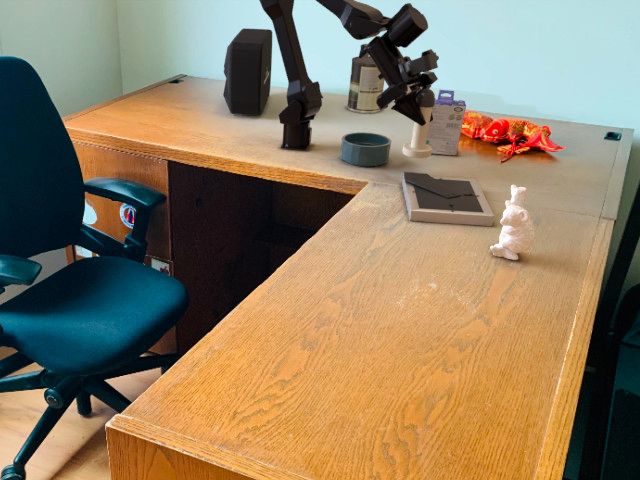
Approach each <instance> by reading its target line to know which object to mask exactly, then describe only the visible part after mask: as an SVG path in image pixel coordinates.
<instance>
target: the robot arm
mask: <svg viewBox="0 0 640 480" xmlns="http://www.w3.org/2000/svg"><path fill="white" fill-rule="evenodd" d="M258 1H259V3H260V5H261V7H262V10H263V12H265V15H267V16H268V18H269V19H271V22H272V25H273V29H274V33H275V36H276V40H277V44H278V48H279V52H280V56H281V59H282V63H283V67H284V71H285V74H286V78H287V81H288V83H287V91H286V104H287V106H285V108H284V109H283V110H282V111H280V112H279V113H278V115H277V116H278V120H279V123H280V124H282V125H283V127H282V144H281V145H280V149H286V150H296V151H297V150H298V151H307V150H308V148H309V147H310V146H311V144H312V134H313V133H312V132H313V128H312V126H311V121H314V120H315V118H316V115H317V114H318V113H319V112H320V111H321V108H322V106H323V101H322V99H324V96H323V94H322V92H321V85H320V83H319V81H318V80H317V81H314V82H313V81H312V79H311V78H310V76H309V75H308V71H307V67H306V63H305V59H304V55H303V52H302V46H301V43H300V39H299V36H298V31H297V28H296V25H295V20H294V15H293V11H294V6H295V0H258ZM315 1H316V2H317V3H318V4H319V5H321V6H322V7H324V8H325V9H326V10H327V11H329V12H330V13H332V14H333V16H336V17H337V18H338V19H339V21H340V23H341V25H342V27H343V29H345V31H346V32H347V33H348V34H349V35H350V36H351V38H353V39H354V40H357V41H362V40H366V39H370V38H372V39H371V40H370V41H369V42H368V43H362V44H360V50H359V53H358V57H359V58H364V57H367V56H370V57H371V59H372V61H373V62H374V64H375V65H376V67H377V69H378V70H379V72H380V75H378V78H379V79H380V80H382V79H384V83H386V85H387V86H388V87H386V88H385V90H383V92H382V93H381V94H380V95H379V96H378V97H377V100H376V104H377V106H378V107H379V109H380V111H383V110H386V109H388V108H389V105H390V104H391V103H392V102H393V103H394V105H392V106H391V107H390V109H391V110H392V111H393V110H394V111H395V112H397V113H398V114H400V115H402V116H405V117H406V118H408V119H409V120H411V121H413V122H416V123H418V124H419V125H421V126H423V125H425V124H426V121H425V119H424V116H423V114H422V112H421V110H420V108H419V106H418V104H417V101H416V98H417V96H418V94H419V93H420V92H421V91H422V90H424V89H430V90H431V88H432V86H433V84H434V83H436V82H437V81H438V80H439V78H438V77H437V75H436V73H435V71H433V70H435V69H438V68H439V66H438V60H439V59H440V56H439V55H437V52H436V51H434V50H433V49H432V48H430V49H428V50H425V51H422V52H421V56H420V57H417V58H415V59H414V58H413V59H411V57H410V56H408V55H405V56H404V55H403V54H402V52H401V50H400V47H401V48H404V49H405V48H408V47H409V46H410V45H411V44H412V43H414V41H416V40H417V39H418V38H419V37H420V36H421V35H423V33H425V32H426V31H427V30H428V29H429V23H428V20H427V18H426V16H425V14H423V13H421V11H420V10H419V9H417V8H416V7H414V6H413V5H412V3H411V2H407V3H405V4H403V5H402V6H401V7H400V9H399V10H398V11H397V12H396V13H395V14H393V16H392V17H389V16H386V15H383V14H384V13H382V12H381V10H379V8H376V7H373V6H371V5H370V4H367V3H364V2H361V1H357V0H315ZM382 32H384V33H383V34H382V35H381V36H380V34H381V33H382ZM431 121H433V115H432V112H431V117H430V122H431Z"/></svg>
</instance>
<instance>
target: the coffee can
mask: <svg viewBox="0 0 640 480" xmlns="http://www.w3.org/2000/svg"><path fill="white" fill-rule="evenodd" d="M378 75H380V72H379V70H378V69H377V67H376V65H375V64H374V62H373V61H372V59H371V57H370V56H367V57H364V58H359V56H354V57H352V58H351V70H350V78H349V79H350V80H349V88H348V97H347V106H346V109H347V110H349V111H351V112H354V113H359V114H376V113H379V112H381V110H380V109H379V107H378V106H377V104H376V100H377V97H378V96H379V95H380V94H381V93H382V92H383V91H384V87H385V80H384V79H382V80H380V79H379V78H378Z"/></svg>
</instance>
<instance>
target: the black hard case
mask: <svg viewBox="0 0 640 480" xmlns="http://www.w3.org/2000/svg"><path fill="white" fill-rule="evenodd" d="M226 47H227V48H226V53H225V58H224V64H223V74H224V77H225V83H224V89H223V94H222V95H223V99H224V100H225V103H226V106H227V108H228V110H229V113H230V114H232V115H246V116H247V115H249V116H261V115H262V114H263V113H264V110H265V108H266V106H267V103H268V100H269V98H270V94H271V84H272V83H271V82H272V81H271V80H272V65H273V64H272V63H273V61H272V60H273V31H272V29H270V28H269V29H268V28H266V29H265V28H242V29H241V30H239V32H238V33H237V34H236V35H235V36H234V38H233V39H232V41H231V42H230V43H229V45H227V46H226Z"/></svg>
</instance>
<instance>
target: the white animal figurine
mask: <svg viewBox="0 0 640 480" xmlns="http://www.w3.org/2000/svg"><path fill="white" fill-rule="evenodd" d="M527 192H528V189H527V187H523V186H519V187H517V185H516V184H511V185H510V193H511V198H510V200H509V199H508V200H505V207H506V208H505V209H504V211H503V213H502V218H501V219H500V221H499V223H500V225H502V228H501V231H500V234H499V237H498V241H499V242H498V243H495V244H494V245H490V246H489V249H490V251H491V252H492V255H493V256H495V257H499V258H504V259H507V260H512V261H517V260H519V255H518V254H521V253H525V252H527V251H529V250H530V249H531V248H532V246H533V244H534V240H535V236H536V235H535V234H536V233H535V232H536V231H535V229H534V223H533V221H532V219H531V217H530V213H529V211H528V210H527V209H525V208H524V207H523V206H524V203H525V200H526V199H525V198H526V196H527Z"/></svg>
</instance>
